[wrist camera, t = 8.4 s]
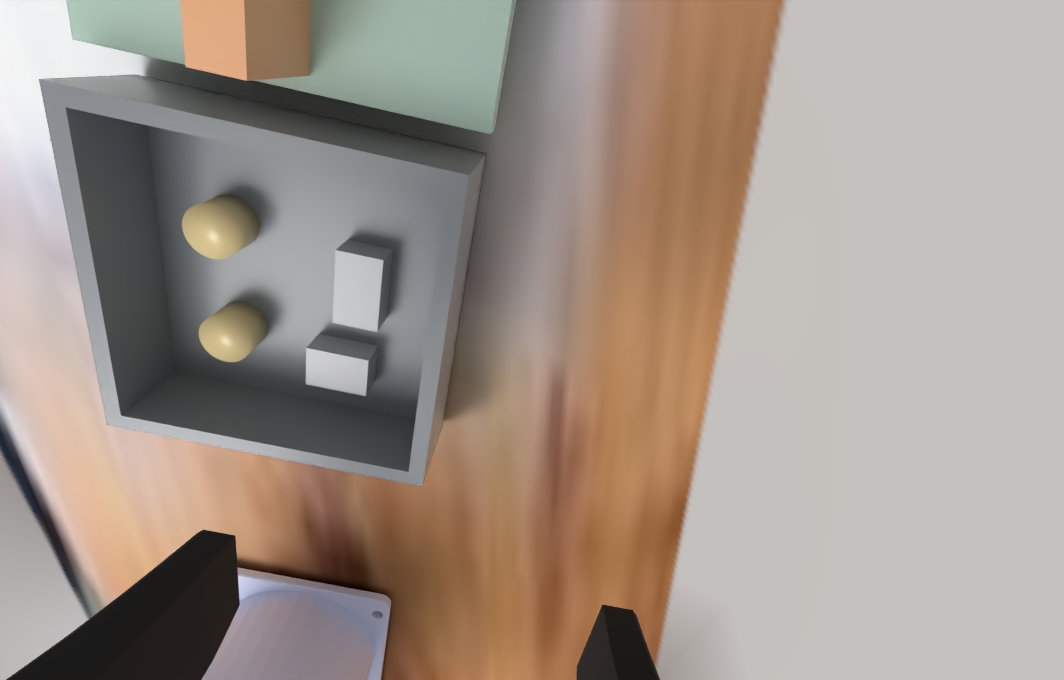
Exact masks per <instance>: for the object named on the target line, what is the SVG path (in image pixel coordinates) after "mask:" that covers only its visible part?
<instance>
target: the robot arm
mask: <svg viewBox="0 0 1064 680" xmlns="http://www.w3.org/2000/svg"><path fill="white" fill-rule="evenodd" d="M390 609H391V600H390V599H389V597H387V596H386V595H384V594H380V593H374V592H369V591H363V590H358V589H352V588H347V587H342V586H336V585H331V584H325V583H320V582H315V581H309V580H304V579H298V578H293V577H288V576H282V575H277V574H271V573H266V572H260V571H255V570H250V569H244V568H239V567H237V554H236V539H235V536H234V535H228V534H223V533H218V532H212V531H207V530H202V531H200V532H198V533H197V534H196V535H195V536H193V537H192V538H191V539H190V540H188V541H187V542H186V543H185V544H184V545H182V546H181V547H180V548H179V549H177V550H176V551H175V552H174V553H173V554H171V555H170V556H169V557H168V558H166V559H165V560H164V561H163V562H162V563H160V564H159V565H158V566H157V567H155V568H154V569H153V570H152V571H150V572H149V573H148V574H147V575H145V576H144V577H143V578H142V579H140V580H139V581H138V582H137V583H135V584H134V585H133V586H132V587H130V588H129V589H128V590H127V591H125V592H124V593H123V594H122V595H120V596H119V597H118V598H116V599H115V600H114V601H112V602H111V603H110V604H109V605H107V606H106V607H105V608H103V609H102V610H101V611H99V612H98V613H97V614H95V615H94V616H93V617H92V618H90V619H89V620H88V621H86V622H85V623H84V624H82V625H81V626H80V627H79V628H77V629H76V630H75V631H73V632H72V633H71V634H69V635H68V636H66V637H65V638H64V639H63V640H61V641H60V642H58V643H57V644H56V645H54V646H53V647H51V648H50V649H49V650H47V651H46V652H44V653H43V654H41V655H40V656H39V657H37V658H36V659H35V660H33V661H32V662H30V663H29V664H28V665H26V666H25V667H24V668H22V669H21V670H19V671H18V672H16V673H15V674H14V675H12V676H11V677H9V678H8V679H7V680H381V677H382V669H383V662H384V654H385V647H386V639H387V632H388V624H389V617H390ZM577 680H660V678H659V676H658V673H657V671H656V668H655V666H654V663H653V660H652V658H651V655H650V653H649V650H648V647H647V644H646V642H645V639H644V636H643V633H642V631H641V628H640V625H639V622H638V619H637V616H636V614H635V613H634V612H633V610H628V609H623V608H618V607H612V606H607V605H602V607H601V610H600V612H599V614H598V617H597V619H596V622H595V624H594V627H593V629H592V631H591V634H590V636H589V639H588V641H587V644H586V646H585V648H584V651H583V653H582V656H581V658H580V661H579V663H578V665H577Z"/></svg>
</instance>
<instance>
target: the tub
mask: <svg viewBox="0 0 1064 680" xmlns="http://www.w3.org/2000/svg"><path fill="white" fill-rule="evenodd" d="M39 81H40V86H41V91H42V97H43V102H44V107H45V112H46V117H47V122H48V127H49V132H50V137H51V142H52V148H53V153H54V158H55V163H56V168H57V173H58V178H59V183H60V188H61V193H62V199H63V204H64V209H65V214H66V219H67V224H68V229H69V234H70V239H71V244H72V250H73V255H74V260H75V265H76V270H77V275H78V280H79V285H80V290H81V295H82V300H83V306H84V311H85V316H86V321H87V326H88V331H89V336H90V341H91V346H92V351H93V357H94V362H95V367H96V372H97V377H98V382H99V387H100V392H101V397H102V402H103V408H104V413H105V418H106V423H107V425H108V426H114V427H119V428H124V429H129V430H134V431H139V432H144V433H150V434H155V435H160V436H165V437H170V438H175V439H180V440H185V441H191V442H196V443H201V444H206V445H211V446H216V447H221V448H226V449H232V450H237V451H242V452H247V453H252V454H257V455H262V456H267V457H273V458H278V459H283V460H288V461H293V462H298V463H303V464H308V465H314V466H319V467H324V468H329V469H334V470H339V471H344V472H350V473H355V474H360V475H365V476H370V477H375V478H380V479H385V480H391V481H396V482H401V483H406V484H411V485H416V486H421V487H422V486H423V483H424V480H425V477H426V474H427V471H428V468H429V465H430V462H431V459H432V456H433V453H434V450H435V447H436V444H437V441H438V438H439V435H440V432H441V429H442V424H443V418H444V412H445V406H446V400H447V393H448V387H449V381H450V375H451V369H452V363H453V356H454V350H455V344H456V338H457V332H458V326H459V319H460V313H461V307H462V301H463V295H464V289H465V282H466V276H467V270H468V264H469V258H470V252H471V245H472V239H473V233H474V227H475V221H476V215H477V208H478V202H479V196H480V190H481V184H482V178H483V171H484V165H485V159H486V154H485V153H481V152H477V151H472V150H468V149H463V148H459V147H454V146H450V145H446V144H441V143H437V142H432V141H428V140H423V139H419V138H415V137H410V136H406V135H401V134H397V133H393V132H388V131H384V130H379V129H375V128H370V127H366V126H362V125H357V124H353V123H348V122H344V121H339V120H335V119H331V118H326V117H322V116H317V115H313V114H308V113H304V112H300V111H295V110H291V109H286V108H282V107H277V106H273V105H269V104H264V103H260V102H255V101H251V100H246V99H242V98H238V97H233V96H229V95H224V94H220V93H215V92H211V91H207V90H202V89H198V88H193V87H189V86H184V85H180V84H176V83H171V82H167V81H162V80H158V79H153V78H149V77H145V76H140V75H117V76H96V77H74V78H52V79H39Z"/></svg>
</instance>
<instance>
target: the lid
mask: <svg viewBox="0 0 1064 680" xmlns="http://www.w3.org/2000/svg"><path fill="white" fill-rule="evenodd" d="M66 2H67V8H68V14H69V20H70V26H71V32H72V38H73V39H74V40H78V41H82V42H87V43H91V44H96V45H100V46H104V47H109V48H113V49H118V50H122V51H126V52H131V53H135V54H140V55H144V56H148V57H153V58H157V59H162V60H166V61H170V62H175V63H179V64H183V65H186V67H188V68H192V69H197V70H201V71H206V72H210V73H214V74H219V75H223V76H228V77H232V78H236V79H241V80H245V81H252V80H254V81H258V82H263V83H267V84H271V85H276V86H280V87H285V88H289V89H293V90H298V91H302V92H307V93H311V94H315V95H320V96H324V97H329V98H333V99H337V100H342V101H346V102H351V103H355V104H359V105H364V106H368V107H372V108H377V109H381V110H386V111H390V112H394V113H399V114H403V115H408V116H412V117H416V118H421V119H425V120H430V121H434V122H438V123H443V124H447V125H452V126H456V127H460V128H465V129H469V130H474V131H478V132H482V133H487V134H491V133H492V132H493V131H494V130H495V126H496V120H497V114H498V108H499V101H500V95H501V89H502V83H503V77H504V71H505V65H506V59H507V53H508V47H509V41H510V35H511V29H512V23H513V17H514V11H515V5H516V0H66Z"/></svg>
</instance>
